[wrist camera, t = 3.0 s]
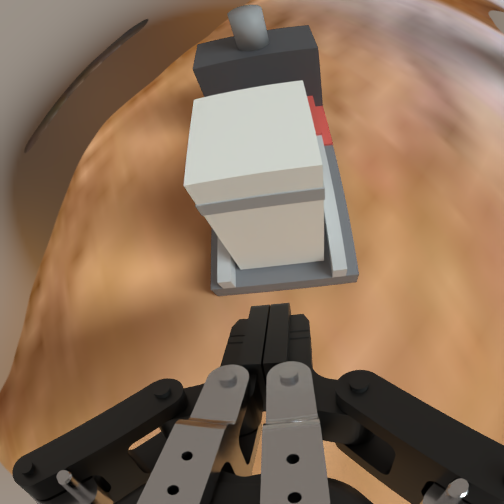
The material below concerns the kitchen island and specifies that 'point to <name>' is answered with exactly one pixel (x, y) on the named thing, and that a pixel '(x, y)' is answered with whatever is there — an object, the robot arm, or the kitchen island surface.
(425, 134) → the kitchen island surface
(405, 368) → the kitchen island surface
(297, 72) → the grey boxy device
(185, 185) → the grooved white block
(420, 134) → the kitchen island surface
